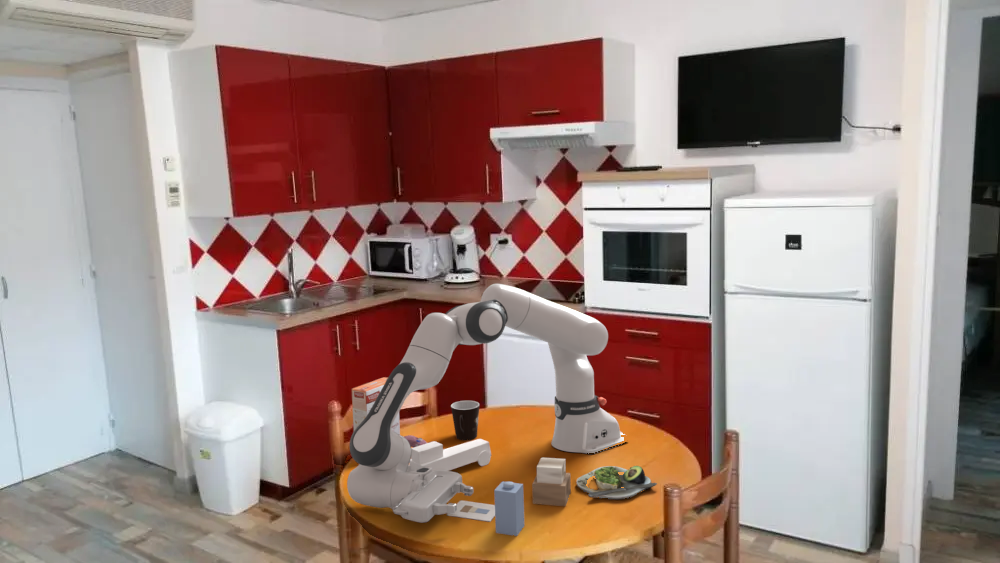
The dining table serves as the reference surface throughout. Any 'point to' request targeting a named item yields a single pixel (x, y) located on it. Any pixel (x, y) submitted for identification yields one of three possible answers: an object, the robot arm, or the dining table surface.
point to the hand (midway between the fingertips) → (464, 500)
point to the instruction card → (474, 511)
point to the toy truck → (449, 455)
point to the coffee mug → (465, 419)
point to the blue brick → (509, 508)
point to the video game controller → (415, 441)
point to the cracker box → (368, 402)
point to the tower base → (552, 492)
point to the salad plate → (616, 482)
